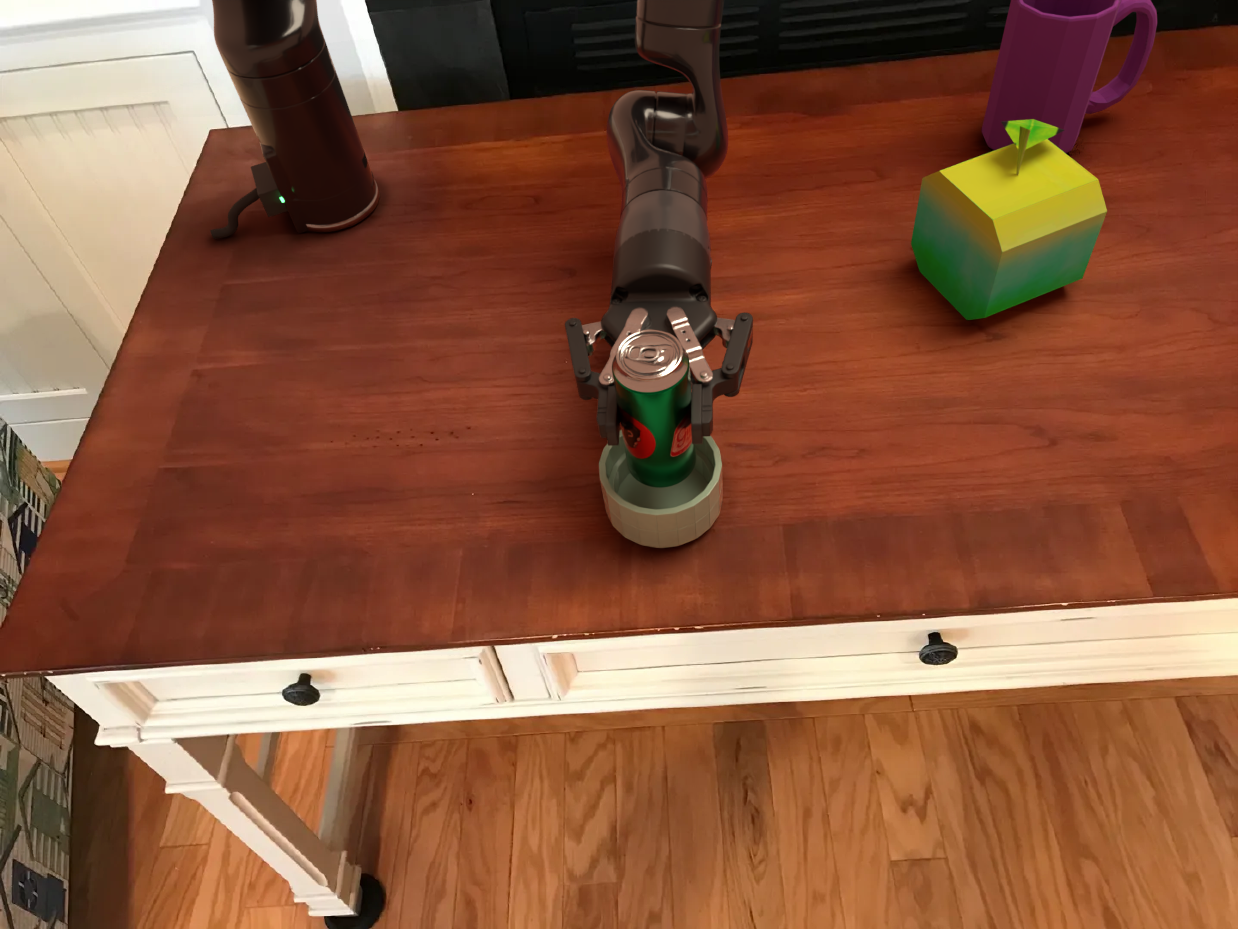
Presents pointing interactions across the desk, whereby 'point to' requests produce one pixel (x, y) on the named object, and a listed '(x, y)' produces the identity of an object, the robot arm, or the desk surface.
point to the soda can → (655, 407)
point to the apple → (1007, 223)
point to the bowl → (662, 498)
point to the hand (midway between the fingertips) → (654, 436)
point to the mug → (1062, 64)
